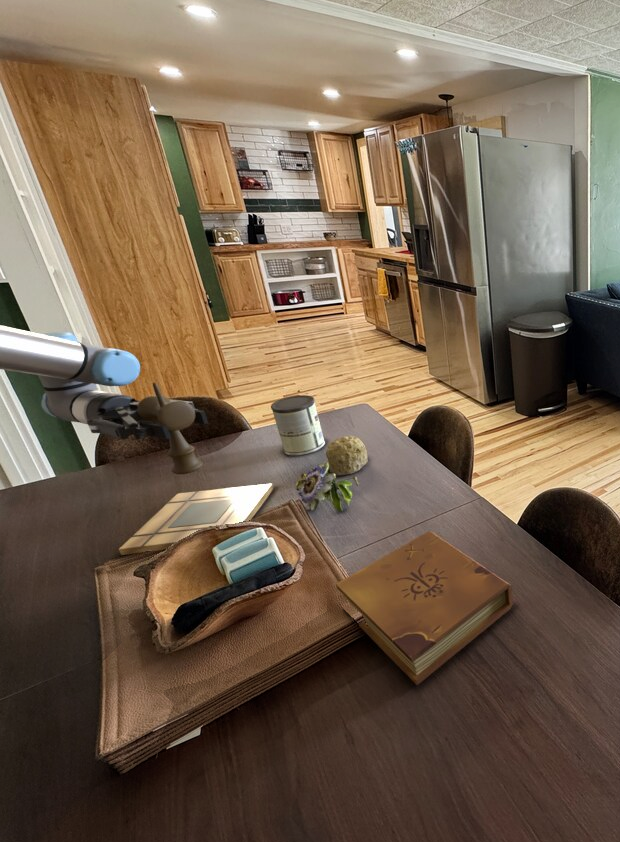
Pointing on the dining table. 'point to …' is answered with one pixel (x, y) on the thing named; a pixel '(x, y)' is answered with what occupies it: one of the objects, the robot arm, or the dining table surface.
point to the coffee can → (298, 424)
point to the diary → (426, 602)
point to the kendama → (172, 428)
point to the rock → (346, 455)
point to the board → (196, 515)
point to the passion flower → (323, 488)
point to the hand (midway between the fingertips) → (185, 424)
